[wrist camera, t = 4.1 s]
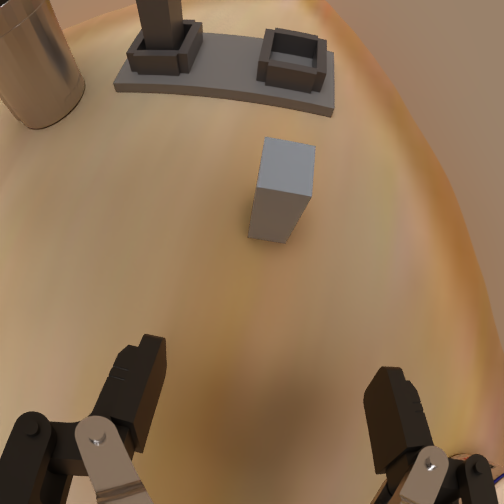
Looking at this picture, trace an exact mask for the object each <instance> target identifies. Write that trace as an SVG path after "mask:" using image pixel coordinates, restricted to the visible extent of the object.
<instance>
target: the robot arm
mask: <svg viewBox="0 0 504 504" xmlns="http://www.w3.org/2000/svg"><path fill="white" fill-rule="evenodd" d="M84 87H85V83H84V80H83V77H82V75H81V73H80V71H79V69H78V66H77V64H76V62H75V60H74V57H73V55H72V53H71V50H70V48H69V46H68V44H67V41H66V39H65V37H64V34H63V32H62V30H61V27H60V25H59V23H58V20H57V18H56V16H55V13H54V10H53V8H52V5H51V3H50V0H0V98H1V100H2V101H3V102H4V104H5V105H6V106H7V108H8V109H9V110H10V111H11V113H12V114H13V115H14V116H15V118H16V119H17V120H21V121H22V122H23V123H24V124H25V125H26V126H27V127H29V128H32V129H39V128H44V127H47V126H49V125H52V124H53V123H55V122H57V121H59V120H60V119H61V118H63V117H64V116H66V115H67V114H68V113H69V112H70V111H71V110H72V109H73V108H74V107H75V105H76V104H77V103H78V101H79V100H80V98H81V96H82V94H83V92H84ZM166 368H167V360H166V340H165V338H163V337H158V336H153V335H149V334H144V335H143V337H142V339H141V342H140V344H139V346H138V347H136V346H132V345H128V346H127V347H125V348H124V349H123V350H122V351H121V352H120V353H119V354H118V356H117V358H116V360H115V362H114V364H113V368H112V369H111V371H110V373H109V377H107V380H106V382H105V384H104V386H103V389H102V391H101V393H100V395H99V398H98V400H97V402H96V405H95V407H94V409H93V411H92V413H91V414H90V415H89V416H88V417H86V418H84V419H83V420H81V421H79V422H75V423H64V422H49V420H48V419H47V418H46V417H45V416H44V415H43V414H41V413H38V412H26V413H24V414H22V415H21V416H20V417H19V418H18V419H17V420H16V422H15V424H14V427H13V429H12V431H11V434H10V436H9V438H8V441H7V443H6V446H5V448H4V451H3V453H2V456H1V458H0V504H66V501H67V497H68V493H69V489H70V485H71V482H72V478H73V475H75V476H89V478H90V480H91V482H92V485H93V487H94V490H95V492H96V496H97V497H96V499H97V503H98V504H154V503H153V502H152V500H151V498H150V496H149V494H148V493H147V491H146V489H145V487H144V485H143V484H142V482H141V480H140V478H139V476H138V474H137V472H136V470H135V468H134V466H133V464H132V458H133V455H134V451H135V452H139V453H143V450H144V447H145V443H146V440H147V436H148V433H149V429H150V426H151V423H152V419H153V416H154V412H155V409H156V406H157V402H158V399H159V396H160V393H161V389H162V386H163V383H164V379H165V375H166ZM420 402H421V401H420V398H419V395H418V392H417V390H416V388H415V387H414V386H413V384H412V383H411V382H410V381H406V380H405V377H404V374H403V371H402V369H401V368H400V367H381V368H380V369H379V370H378V372H377V373H376V375H375V376H374V378H373V380H372V381H371V383H370V384H369V386H368V387H367V389H366V391H365V393H364V399H363V403H364V409H365V414H366V419H367V425H368V430H369V436H370V442H371V448H372V454H373V460H374V466H375V473H376V474H385V473H386V477H387V479H386V480H385V481H384V482H383V483H382V485H381V487H380V489H379V490H378V492H377V493H376V495H375V497H374V498H373V500H372V501H371V503H370V504H459V502H458V499H460V498H461V501H462V504H499V503H498V498H497V494H496V489H495V484H494V480H493V476H492V472H491V468H490V464H489V462H488V461H487V459H486V458H485V457H483V456H482V455H479V454H474V455H471V456H470V457H469V458H467V459H466V460H465V461H464V460H458V459H452V458H448V457H447V455H446V454H445V452H444V451H443V450H442V449H440V448H439V447H436V446H434V444H433V441H432V437H431V434H430V430H429V427H428V423H427V420H426V417H425V414H424V413H423V407H422V404H420Z"/></svg>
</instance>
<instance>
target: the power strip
mask: <svg viewBox="0 0 504 504" xmlns="http://www.w3.org/2000/svg"><path fill="white" fill-rule="evenodd" d="M136 3H137V8H138V13H139V17H140V22H141V27H142V29H141V31H140V32H139V34H138V35H137V37H136V38H135V40H134V42H133V43H132V45H131V46H130V48H129V49H128V51H127V53H126V54H127V60H126V61H125V63H124V65H123V66H122V68H121V70H120V72H119V73H118V75H117V77H116V79H115V81H114V82H113V85H114V87H115V90H116V92H147V93H168V94H182V95H195V96H205V97H215V98H224V99H232V100H239V101H247V102H253V103H260V104H266V105H272V106H278V107H284V108H289V109H294V110H299V111H304V112H309V113H314V114H319V115H323V116H328V117H331V115H332V113H333V111H334V52H330V51H327V40H324V39H319V38H318V36H316V35H311V34H307V33H302V32H297V31H291V30H286V29H280V28H275V30H272V29H266V31H265V35H264V39H261V38H254V37H246V36H237V35H227V34H215V33H203V29H202V22H195V20H183V17H182V6H181V0H136Z"/></svg>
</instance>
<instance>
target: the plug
mask: <svg viewBox="0 0 504 504" xmlns="http://www.w3.org/2000/svg"><path fill="white" fill-rule="evenodd" d="M314 160H315V146H312V145H307V144H302V143H297V142H292V141H286V140H281V139H275V138H269V137H265V140H264V145H263V151H262V157H261V162H260V168H259V173H258V179H257V184H256V190H255V196H254V202H253V208H252V214H251V220H250V226H249V232H248V238H254V239H261V240H267V241H273V242H279V243H286V241H287V239H288V238H289V236H290V234H291V232H292V231H293V229H294V227H295V225H296V224H297V222H298V220H299V218H300V217H301V215H302V213H303V211H304V209H305V208H306V206H307V204H308V202H309V201H310V199H311V197H312V187H313V174H314Z"/></svg>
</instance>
